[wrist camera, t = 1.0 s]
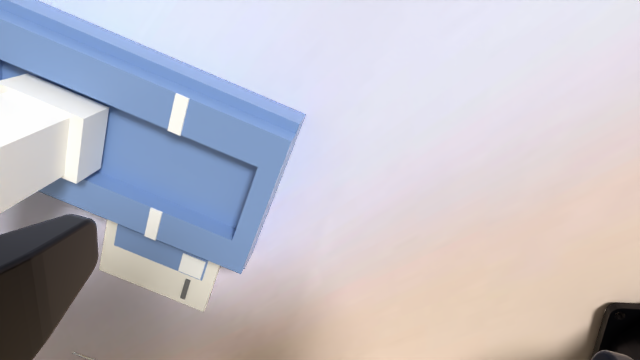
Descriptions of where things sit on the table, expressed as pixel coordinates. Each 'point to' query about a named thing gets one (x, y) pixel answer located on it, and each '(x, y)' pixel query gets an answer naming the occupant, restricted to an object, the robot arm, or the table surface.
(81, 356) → the electrical component
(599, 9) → the table surface
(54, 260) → the robot arm
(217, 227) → the blue rectangular tray
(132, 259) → the label tile
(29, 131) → the switch tab
